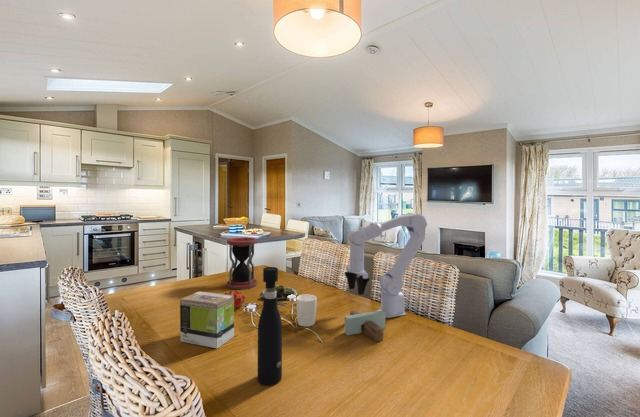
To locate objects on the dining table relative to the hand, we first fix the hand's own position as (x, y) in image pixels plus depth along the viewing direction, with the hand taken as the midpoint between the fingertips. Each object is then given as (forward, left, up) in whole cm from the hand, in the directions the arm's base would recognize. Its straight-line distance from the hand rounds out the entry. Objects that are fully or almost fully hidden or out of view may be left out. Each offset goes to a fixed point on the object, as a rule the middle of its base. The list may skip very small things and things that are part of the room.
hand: (356, 291), depth 127 cm
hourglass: (+37, -59, -10) cm, 70 cm away
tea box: (+58, 0, -10) cm, 59 cm away
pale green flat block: (+4, +14, -10) cm, 18 cm away
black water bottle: (+44, +30, -10) cm, 54 cm away
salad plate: (+23, -35, -10) cm, 43 cm away
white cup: (+22, 0, -10) cm, 24 cm away
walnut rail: (+4, +14, -10) cm, 18 cm away
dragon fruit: (+46, -26, -10) cm, 54 cm away
